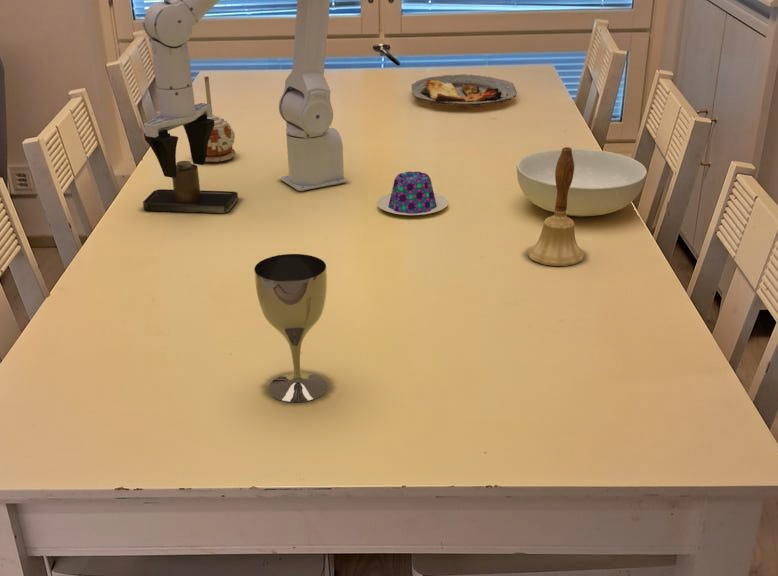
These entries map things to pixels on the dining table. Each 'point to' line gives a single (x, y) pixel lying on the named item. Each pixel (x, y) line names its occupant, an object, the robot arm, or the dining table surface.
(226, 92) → the dining table surface
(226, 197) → the phone
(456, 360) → the dining table surface
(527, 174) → the serving bowl
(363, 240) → the dining table surface
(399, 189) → the pudding
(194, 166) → the salt shaker
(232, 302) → the dining table surface
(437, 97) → the food plate
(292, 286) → the wine glass
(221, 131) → the caramel apple
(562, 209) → the hand bell
